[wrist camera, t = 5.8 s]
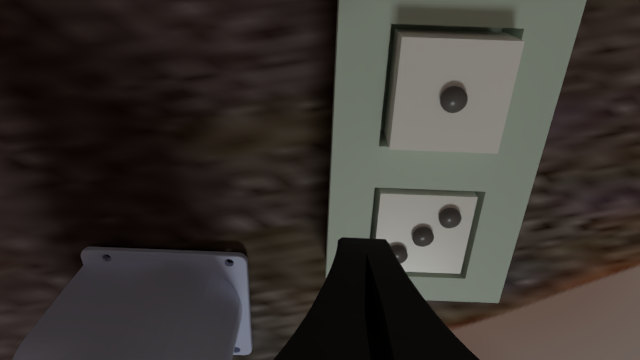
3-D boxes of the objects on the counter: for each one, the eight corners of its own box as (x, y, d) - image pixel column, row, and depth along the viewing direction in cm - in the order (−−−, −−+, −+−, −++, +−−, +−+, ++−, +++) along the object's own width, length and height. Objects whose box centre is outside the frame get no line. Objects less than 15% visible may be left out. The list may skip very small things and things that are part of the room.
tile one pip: (384, 131, 19) (389, 151, 17) (394, 28, 17) (402, 37, 15) (482, 135, 19) (499, 155, 17) (504, 32, 17) (527, 42, 15)
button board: (325, 260, 25) (325, 296, 23) (349, -248, 15) (352, -291, 12) (480, 266, 25) (498, 302, 22) (608, -240, 15) (668, -282, 12)
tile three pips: (369, 246, 23) (372, 272, 22) (376, 173, 21) (381, 195, 20) (450, 249, 23) (461, 276, 22) (465, 177, 21) (479, 199, 19)
